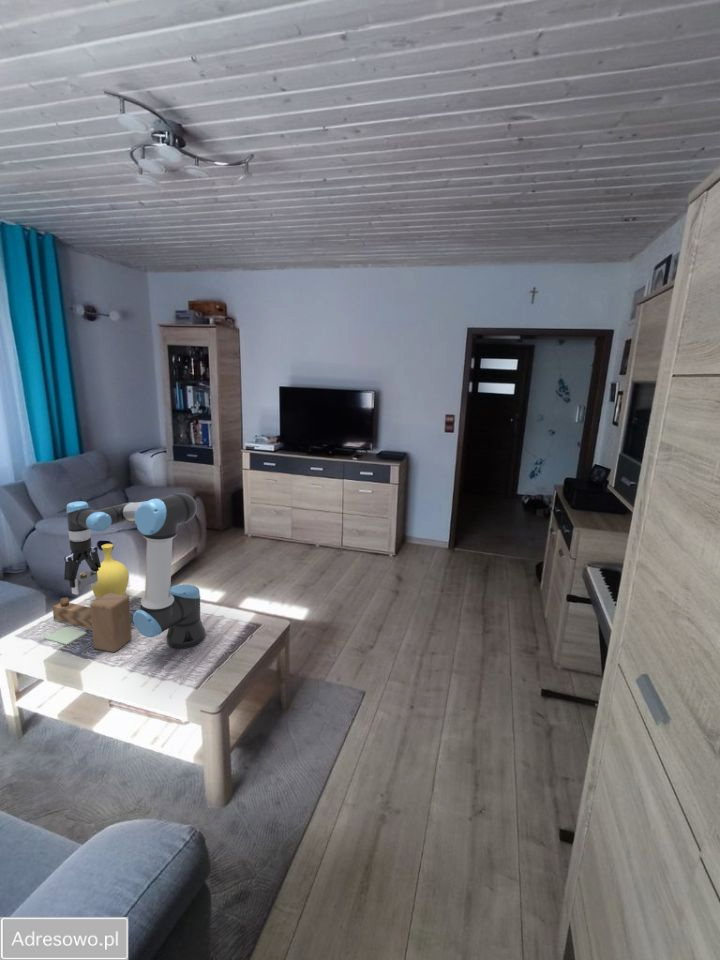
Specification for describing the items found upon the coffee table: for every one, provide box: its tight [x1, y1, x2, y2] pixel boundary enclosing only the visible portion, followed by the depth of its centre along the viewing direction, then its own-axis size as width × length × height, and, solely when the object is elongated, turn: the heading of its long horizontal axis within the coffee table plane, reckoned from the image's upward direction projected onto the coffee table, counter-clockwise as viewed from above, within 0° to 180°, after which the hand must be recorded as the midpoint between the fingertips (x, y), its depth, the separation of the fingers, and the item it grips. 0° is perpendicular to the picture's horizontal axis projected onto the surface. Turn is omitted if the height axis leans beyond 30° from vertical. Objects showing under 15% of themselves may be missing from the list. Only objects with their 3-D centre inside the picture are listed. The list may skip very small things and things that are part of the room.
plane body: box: [52, 597, 97, 632], centre depth 186 cm, size 26×5×13 cm, turn 73°
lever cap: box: [76, 570, 98, 589], centre depth 182 cm, size 6×8×5 cm
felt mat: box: [43, 626, 88, 646], centre depth 177 cm, size 12×9×1 cm
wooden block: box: [89, 593, 132, 653], centre depth 172 cm, size 10×10×20 cm
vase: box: [90, 543, 130, 600], centre depth 205 cm, size 16×16×28 cm
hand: (84, 589), depth 183 cm, fingers closed on lever cap, 8 cm apart
